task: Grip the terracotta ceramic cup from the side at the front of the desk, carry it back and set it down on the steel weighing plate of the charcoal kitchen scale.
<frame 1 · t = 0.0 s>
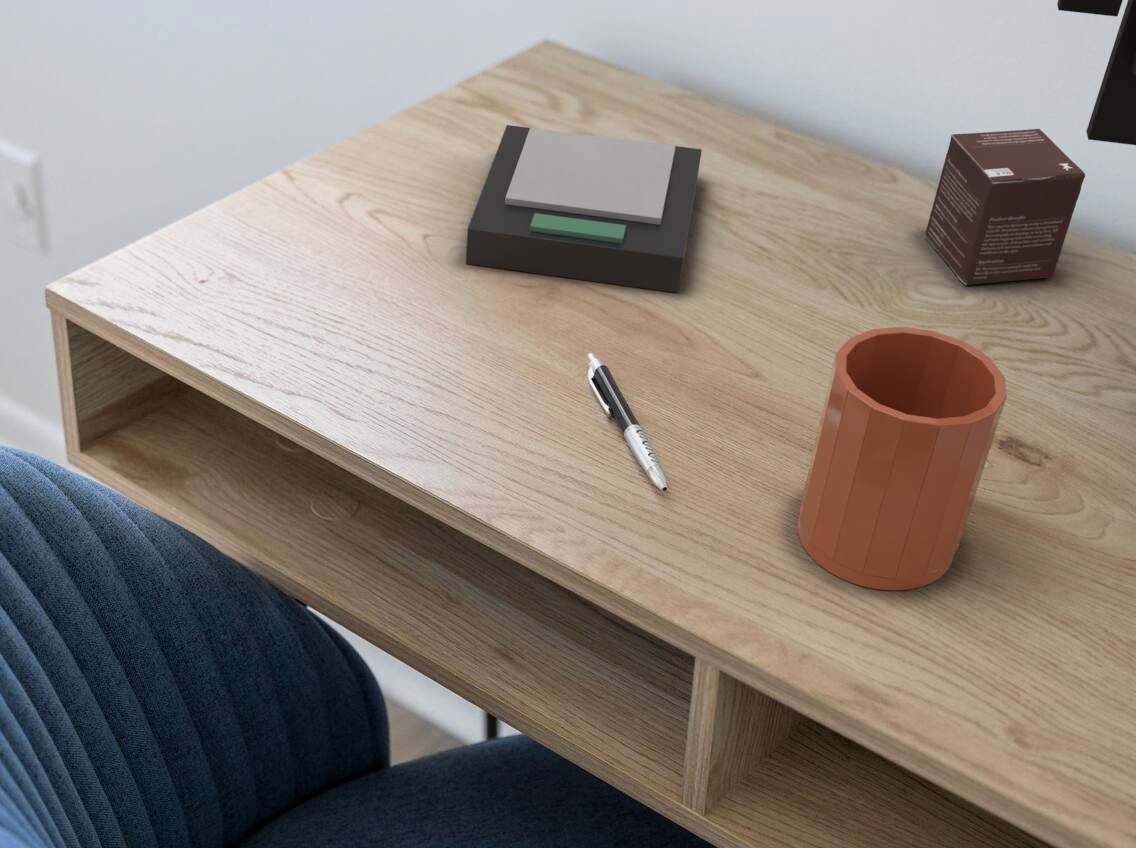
hand: (1102, 71, 72), 22 cm above the table, tool pointing down, fingers open, 13 cm apart
box: (986, 261, 101), on the table
cup: (874, 538, 80), on the table
scale: (585, 221, 103), on the table
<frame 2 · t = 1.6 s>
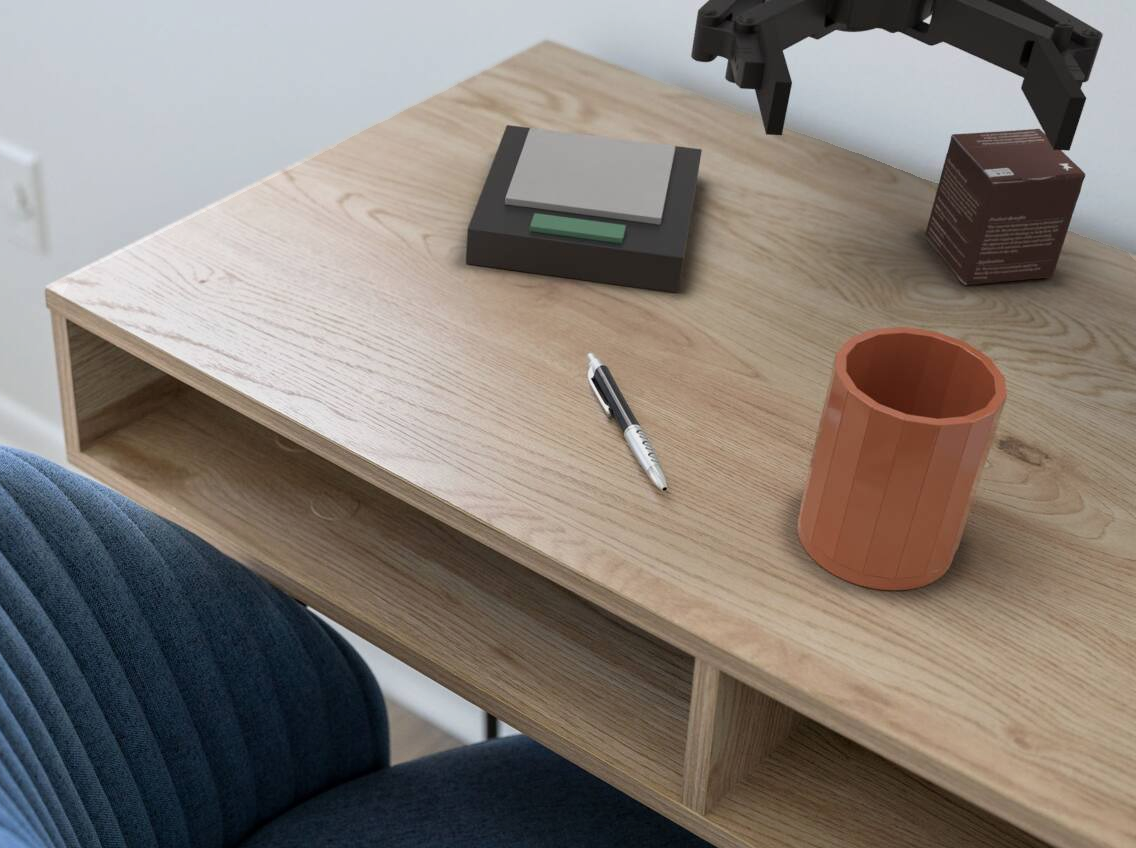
hand: (924, 117, 76), 18 cm above the table, tool horizontal, fingers open, 13 cm apart
nothing on the table moved.
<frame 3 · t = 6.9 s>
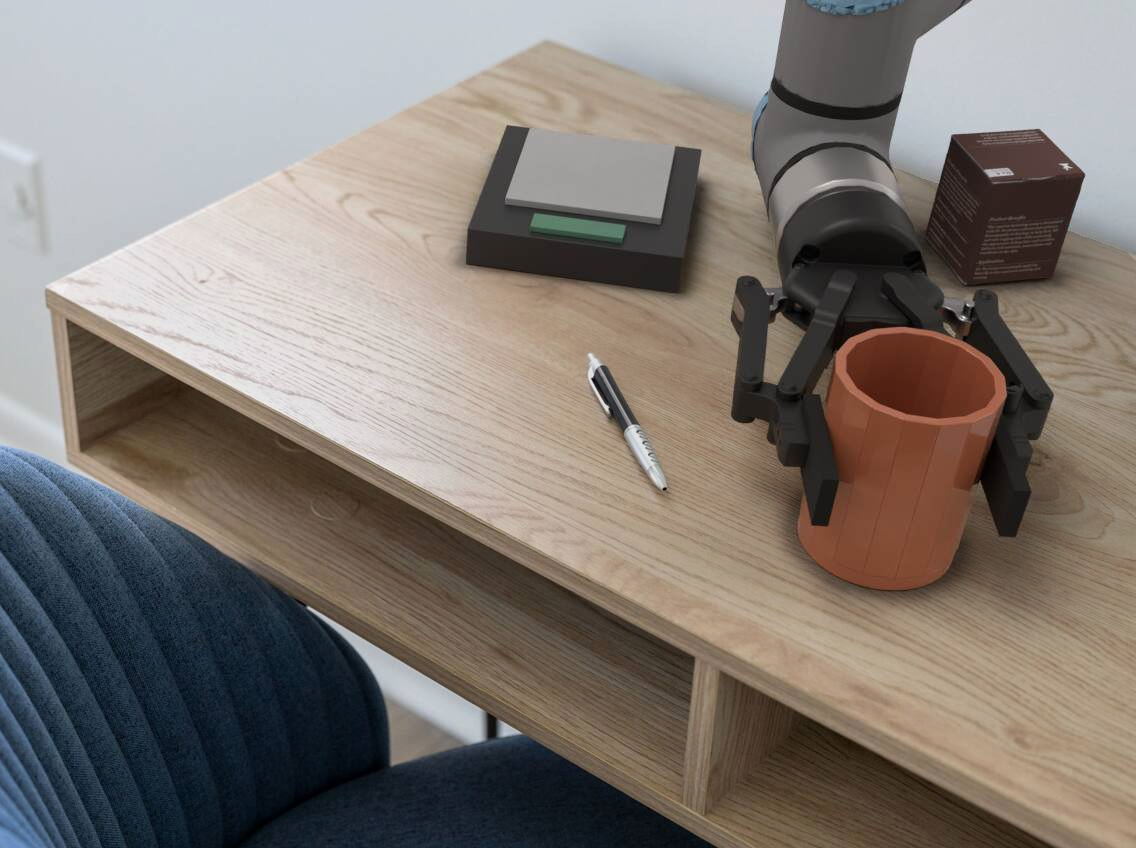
hand: (920, 508, 73), 6 cm above the table, tool horizontal, fingers closed on cup, 8 cm apart
cup: (874, 538, 80), on the table, touching gripper
everything else where it was.
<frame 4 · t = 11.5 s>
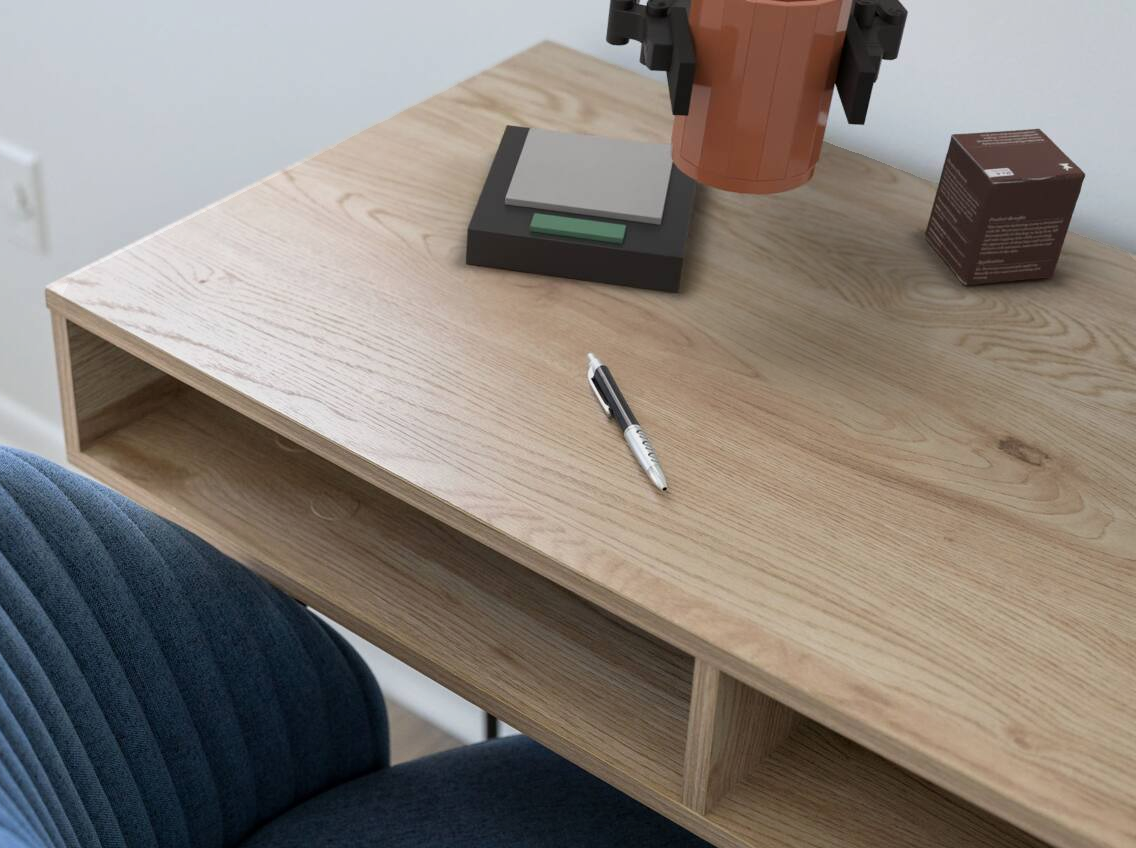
hand: (773, 93, 77), 18 cm above the table, tool horizontal, fingers closed on cup, 8 cm apart
cup: (742, 158, 85), point 12 cm above the table, touching gripper
everything else where it was.
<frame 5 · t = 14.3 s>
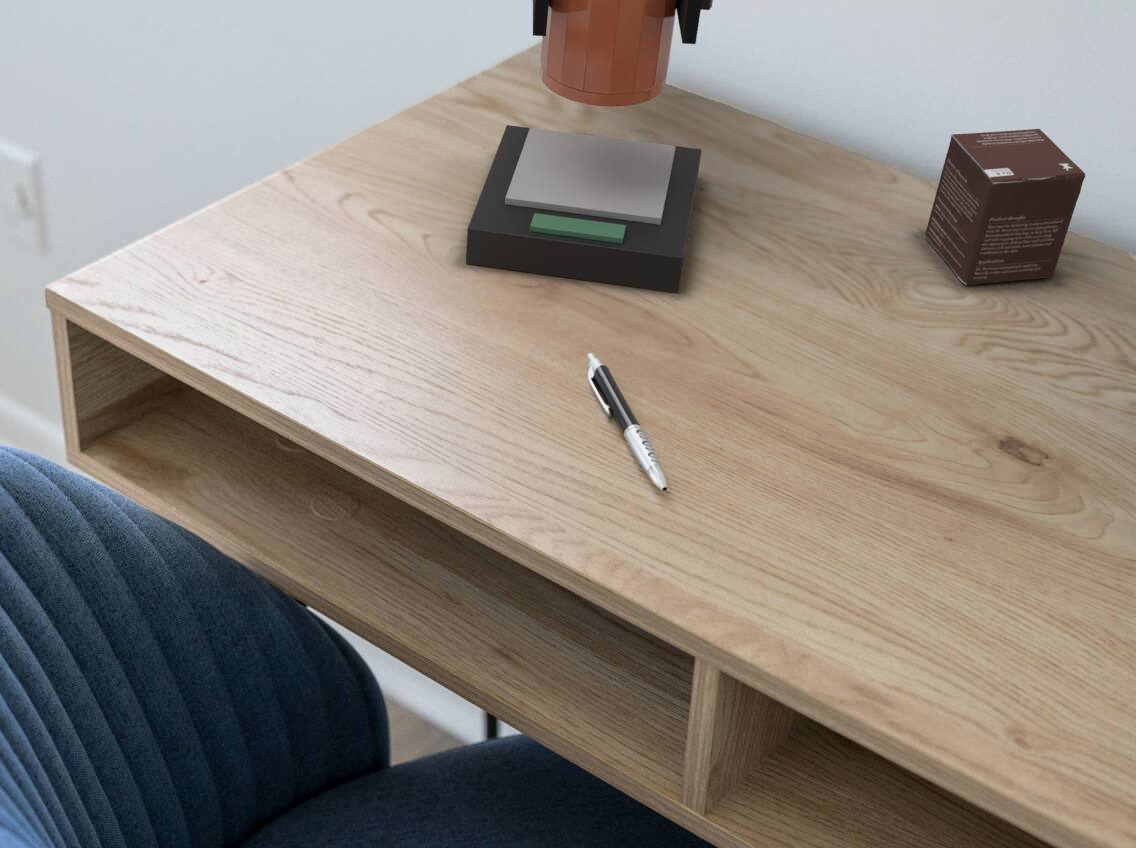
hand: (616, 16, 91), 15 cm above the table, tool horizontal, fingers closed on cup, 8 cm apart
cup: (602, 78, 98), point 9 cm above the table, touching gripper
everything else where it was.
when the fingers open (9 cm above the table, at t = 16.5 s): cup stays where it is, resting on scale.
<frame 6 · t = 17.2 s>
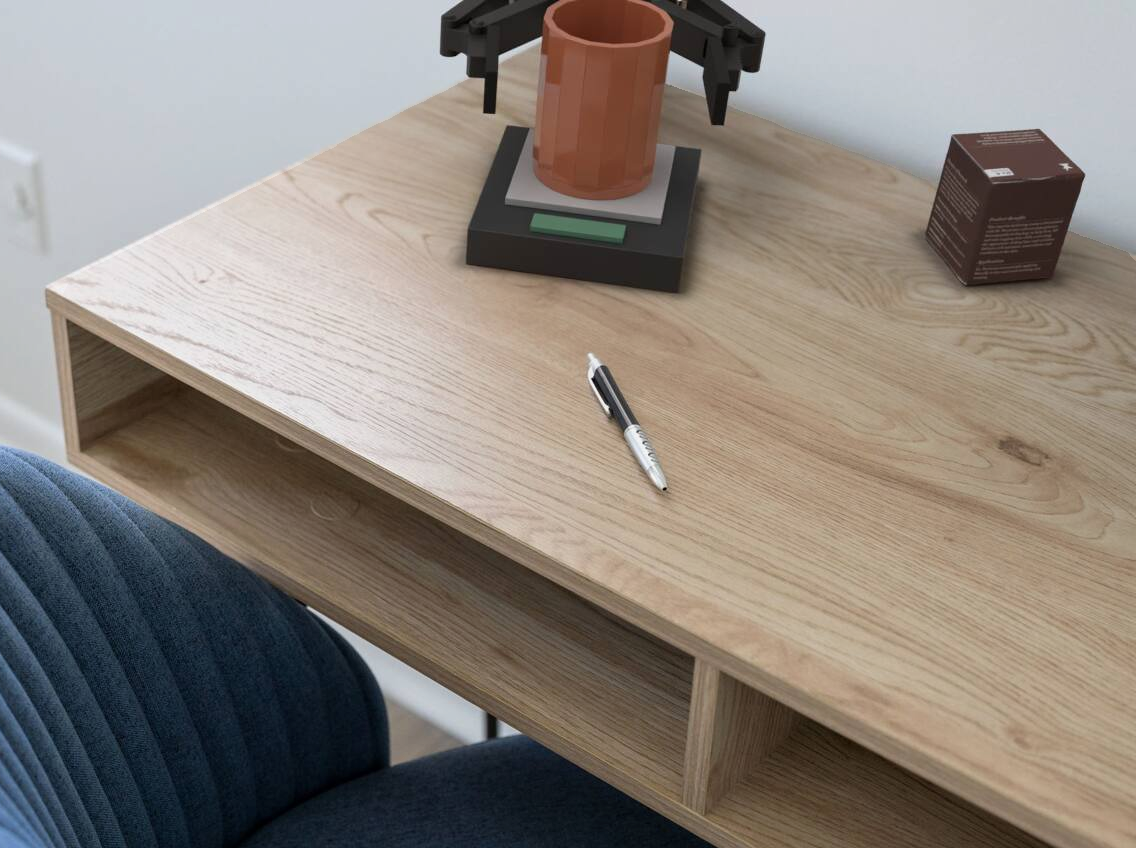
hand: (605, 99, 96), 10 cm above the table, tool horizontal, fingers open, 13 cm apart
cup: (592, 170, 102), point 3 cm above the table, touching scale
everything else where it was.
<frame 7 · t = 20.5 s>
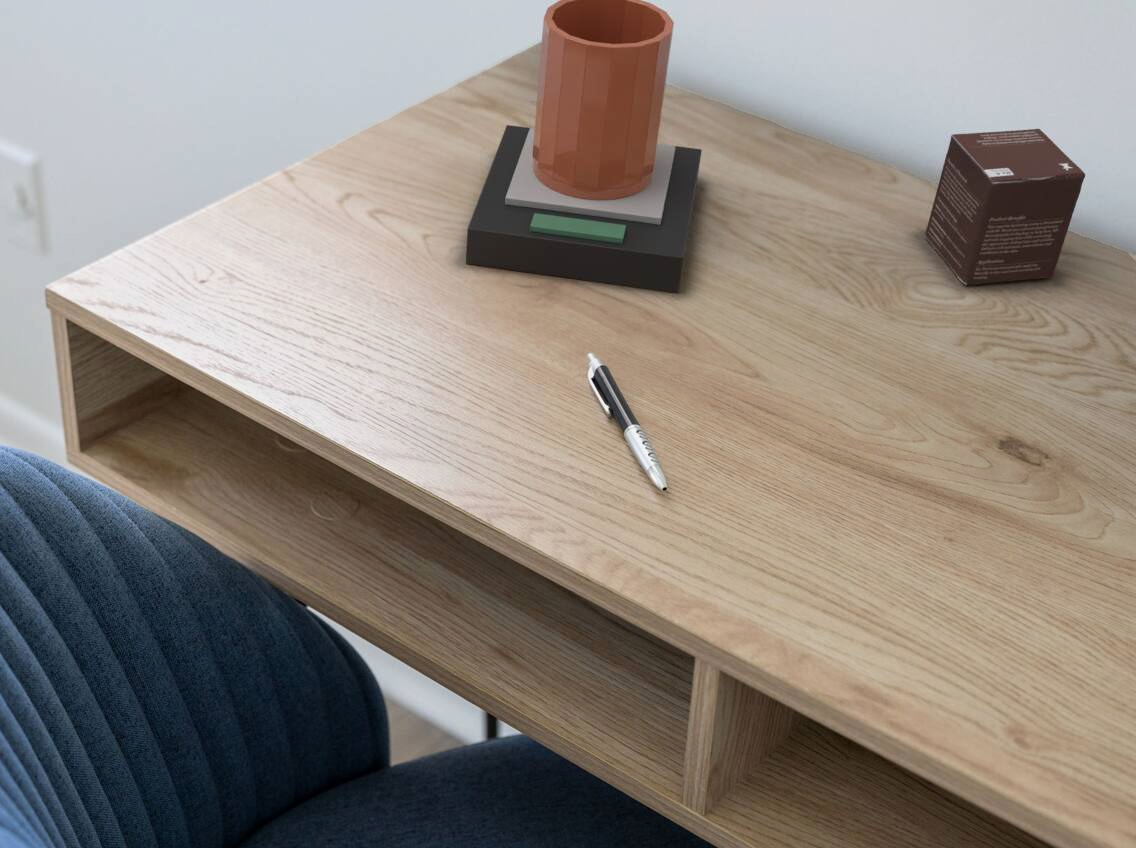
nothing on the table moved.
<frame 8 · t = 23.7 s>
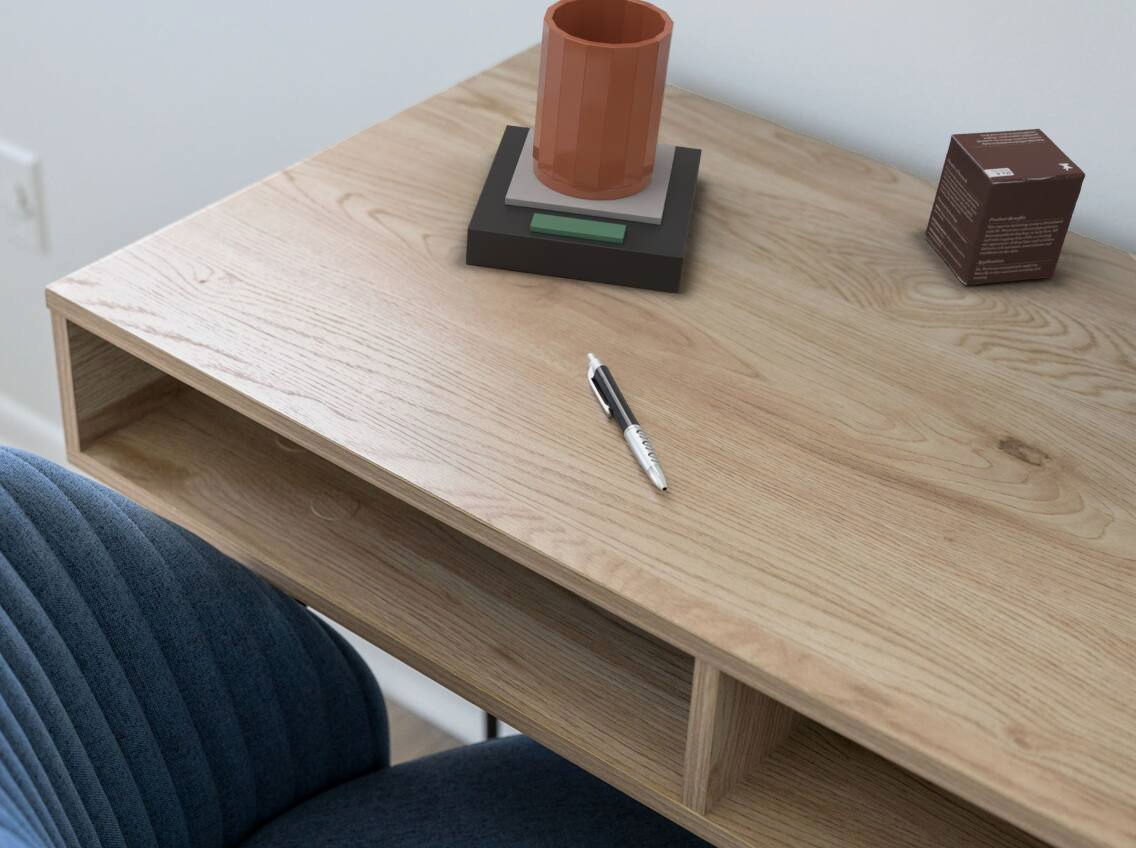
nothing on the table moved.
at the end: cup inside the target area on the scale (0.0 cm from its centre), point 3.0 cm above the scale's base; cup tilted 0°; the gripper is holding nothing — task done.
